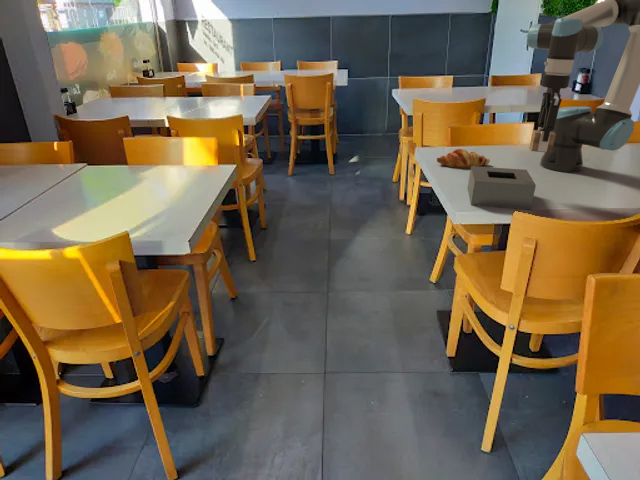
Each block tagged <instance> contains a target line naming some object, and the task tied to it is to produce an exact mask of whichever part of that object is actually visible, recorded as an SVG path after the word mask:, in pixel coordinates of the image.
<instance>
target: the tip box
mask: <svg viewBox="0 0 640 480" xmlns="http://www.w3.org/2000/svg"><path fill="white" fill-rule="evenodd" d="M469 170H470V171H469V175H468V176H469V177H468V183H467V192H468V197H469V202H470V205H471V206H478V205H480V206H481V207H491V206H493V208H504V209H505V208H506V209H508V208H509V209H516V210H517V209H518V210H528V211H529V210H531V209H532V205H533V200H534V196H535V191H536V187H537V185H536V183H535V182H534V179H533V177H531V174H530V173H529V171H528V169H520V168H507V167H506V168H505V167H492V166H491V167H490V166H489V167H488V166H478V167H477V166H471V168H469Z"/></svg>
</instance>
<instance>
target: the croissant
mask: <svg viewBox="0 0 640 480" xmlns="http://www.w3.org/2000/svg"><path fill="white" fill-rule="evenodd" d="M436 162H437V163H439V164H440V165H442V166H443V165H444V166H446V167H449V168H459V169H462V168H463V169H465V168H466V169H471V166H477V167H482V166H486V165H489V163H490V162H491V160H490V159H489V158H487V157H486V156H484V155H480V154H478V153H477V152H475V151H469V152H468V150H466V149H464V148H456V149H455V150H453V151H452V152H449V153H447V154H446V155H442V156H439V157H437V158H436Z"/></svg>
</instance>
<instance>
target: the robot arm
mask: <svg viewBox="0 0 640 480" xmlns="http://www.w3.org/2000/svg"><path fill="white" fill-rule="evenodd" d="M610 25H624V26H625V25H627V26H628V28H627V29H628V31H629V33H630V36H629V38H628V41H627V43H626V45H625V47H624V48H625V49H624V50H623V53H622V55H621V59H620V61H619V63H618V66H617V68H616V71H615V73H614V75H613V78H612V80H611V83H610V86H609V88H608V91H607V94H606V95H605V98H604V100H603V102H602V103H601V105H599V106H597V107H596V108H595V111H594V112H592V111H593V110H592V107H590V106H564V107H560V106H561V103H562V98H561V90H562V89H567V88H569V84H570V79H571V76H570V74H571V73H572V71H573V66H574V63H575V57H576V54H577V53H586V54H588V53H593V52H594V51H597V50H598V49H599V48H600V47H601V46H602V44H603V42H604V40H605V34H604V31H603V29H602V28H600V27H608V26H610ZM526 44H527V46H528V47H529V48H531V49H535V50H544V51H545V50H547V52H548V53H547V56H546V57H547V59H546V61H544V62H543V64H544V66H545V68H544V72H545V73H544V74H543V76H542V80H541V87H543V88H547V89H546V92H543V93H542V101H541V105H540V106H541V107H540V110H539V115H538V120H537V124H538V129H537V130H540V131H541V136H540V140H539V145H538V149H537V151H543V152H542V153H543V154H542V156H541V159H540V162H539V164H540V166H541V167H543V168H546V169H548V170H551V171H556V172H566V173H568V172H569V173H572V172H579V171H581V170H583V169H582V168H583V165H584V160H583V151H582V148H583V145H585V146H589V147H593V148H597V149H601V150H607V151H617V150H619V149H621V148H622V147H624V146H625V145H626V144H627V142H629V140H630V138H631V136H632V134H633V133H634V130H635V122H634V120H633V119H632V117H633V113H632V112H631V110H630V108H631V106H632V104H633V102H634V99H635V98H636V95H637V92H638V90H639V88H640V0H596V1H595V3H594V4H592V5H590V6H588V7H587V6H586V7H585V8H583V9H580V10H578V11H576V12H573V13H570V14H569V15H566V16H564V17H561V18H560V17H559V18H557V19H556V20H554V21H552V22H550V23H537V24H533V25H532V26H531V27H530V28H529V30H528V31H527V33H526ZM551 131H553V132H554V133H555V134H556V135H555V139H554V143H553V147H552V151H551V153H548V152H547V148H548V144H549V139H550V135H551Z"/></svg>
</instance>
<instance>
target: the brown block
mask: <svg viewBox="0 0 640 480" xmlns="http://www.w3.org/2000/svg"><path fill="white" fill-rule="evenodd" d="M555 135H556V134H555V133H554V132H553V131H551V135H550V139H549V144H548V148H547V152H548V153H551V151H552V147H553V143H554V139H555ZM540 136H541V131H540V130H538V129H533V130H532V134H531V139H530V143H529V150H530V152H538V153H544V152H543V151H537V149H538V145H539V140H540Z"/></svg>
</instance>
